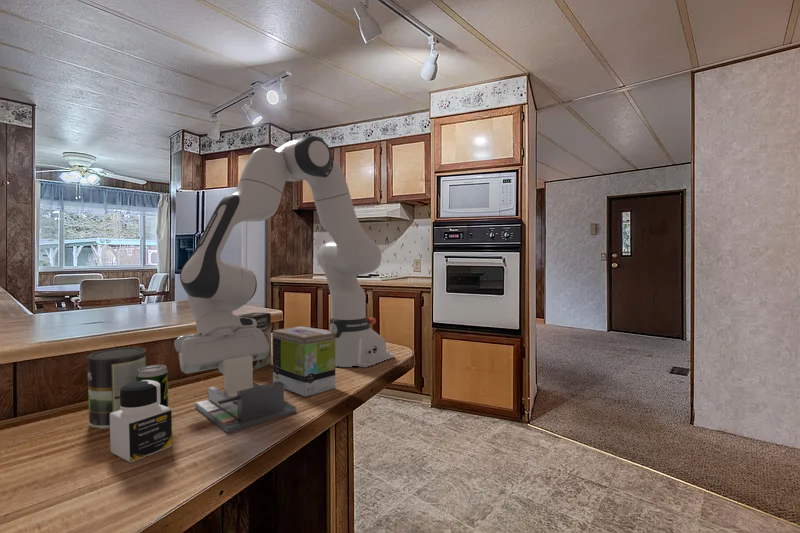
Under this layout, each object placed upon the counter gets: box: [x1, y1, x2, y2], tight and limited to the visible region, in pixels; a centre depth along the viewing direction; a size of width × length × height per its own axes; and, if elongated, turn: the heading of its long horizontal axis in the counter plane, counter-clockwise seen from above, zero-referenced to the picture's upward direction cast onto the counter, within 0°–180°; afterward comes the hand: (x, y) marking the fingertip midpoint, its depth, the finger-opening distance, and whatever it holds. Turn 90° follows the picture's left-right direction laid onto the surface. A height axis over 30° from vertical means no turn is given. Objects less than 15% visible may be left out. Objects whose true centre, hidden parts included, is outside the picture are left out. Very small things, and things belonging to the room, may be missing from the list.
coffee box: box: [238, 312, 272, 371], centre depth 126 cm, size 9×6×16 cm
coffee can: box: [86, 346, 147, 430], centre depth 87 cm, size 10×10×14 cm
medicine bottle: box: [109, 380, 173, 463], centre depth 73 cm, size 7×7×12 cm
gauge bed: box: [194, 381, 297, 434], centre depth 92 cm, size 15×18×7 cm
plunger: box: [218, 355, 254, 405], centre depth 90 cm, size 10×9×10 cm
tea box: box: [272, 325, 336, 397], centre depth 108 cm, size 15×10×15 cm
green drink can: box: [136, 364, 170, 408], centre depth 82 cm, size 5×5×12 cm
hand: (235, 379), depth 95 cm, fingers closed, pressing on plunger
